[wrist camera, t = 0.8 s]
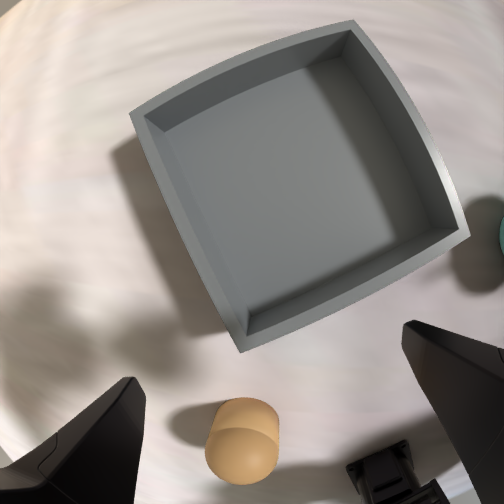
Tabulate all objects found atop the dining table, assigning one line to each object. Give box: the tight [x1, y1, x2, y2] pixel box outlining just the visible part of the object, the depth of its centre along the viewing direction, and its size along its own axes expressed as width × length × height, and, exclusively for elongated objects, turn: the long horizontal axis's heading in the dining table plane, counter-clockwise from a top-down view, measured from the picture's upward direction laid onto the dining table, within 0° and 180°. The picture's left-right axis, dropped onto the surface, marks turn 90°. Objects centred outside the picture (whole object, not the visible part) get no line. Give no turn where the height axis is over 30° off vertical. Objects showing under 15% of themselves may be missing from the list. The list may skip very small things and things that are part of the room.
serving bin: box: [129, 20, 471, 353], centre depth 17 cm, size 16×16×4 cm
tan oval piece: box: [205, 397, 279, 485], centre depth 18 cm, size 5×5×7 cm
